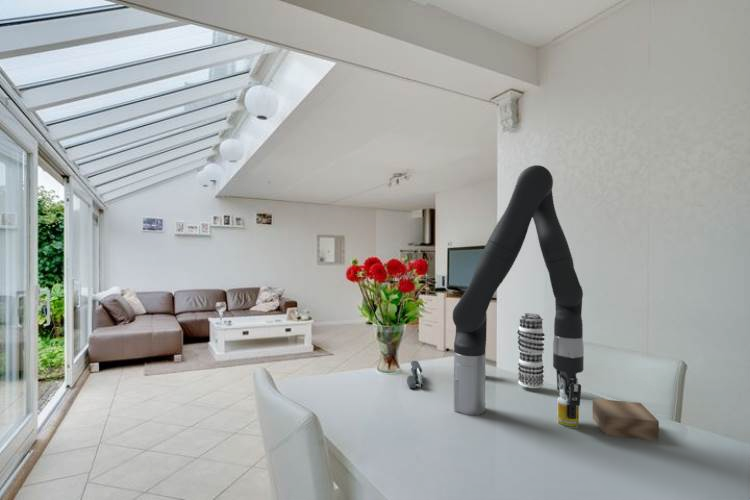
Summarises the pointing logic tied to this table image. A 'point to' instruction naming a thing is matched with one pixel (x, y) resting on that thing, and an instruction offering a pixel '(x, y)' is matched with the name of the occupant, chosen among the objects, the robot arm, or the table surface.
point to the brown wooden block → (625, 419)
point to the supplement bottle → (562, 413)
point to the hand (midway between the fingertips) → (567, 413)
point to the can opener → (415, 375)
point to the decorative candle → (530, 351)
